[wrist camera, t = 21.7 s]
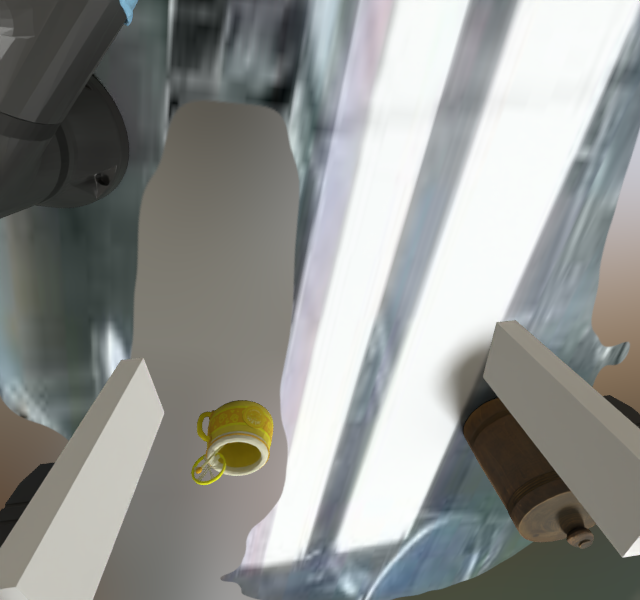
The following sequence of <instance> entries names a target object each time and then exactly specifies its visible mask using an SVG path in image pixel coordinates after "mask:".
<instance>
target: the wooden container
mask: <svg viewBox="0 0 640 600" xmlns="http://www.w3.org/2000/svg"><path fill="white" fill-rule="evenodd" d="M464 436H465V439H466V440H467V442H468V444H469V446H470V448H471V449H472V451H473V453H474V455H475V457H476V459H477V460H478V462H479V464H480V466H481V467H482V469H483V471H484V472H485V474H486V476H487V477H488V479H489V480H490V482H491V484H492V485H493V487H494V489H495V490H496V492H497V494H498V495H499V497H500V499H501V500H502V502H503V504H504V505H505V507H506V509H507V510H508V513H509V515H510V517H511V519H512V521H513V523H514V524H515V526H516V528H517V530H518V531H519V533H520V534H521V535H522V536H523V537H524V538H525V539H527V540H530V541H534V542H550V541H556V540H561V539H564V538H567V541H568V542H569V543H570V544H571V545H573V546H575V547H580V548H582V549H584V548H586V547H588V546H590V545H591V544H592V541H593V539H594V537H593V534H592V533H591V531H590V530H589V529H588V528H590V527H592V526H594V525H595V524H596V523H595V521H594V520H593V519H592V518H591V516H590V515H589V514H588V512H587V511H586V510H585V508H584V507H583V506H582V505H581V503H580V502H579V501H578V499H577V498H576V497H575V496H574V494H573V493H572V492H571V490H570V489H569V488H568V487H567V485H566V484H565V483H564V481H563V480H562V479H561V477H560V476H559V475H558V474H557V472H556V471H555V470H554V468H553V467H552V466H551V465H550V463H549V462H548V461H547V459H546V458H545V457H544V455H543V454H542V453H541V452H540V450H539V449H538V448H537V446H536V445H535V444H534V443H533V441H532V440H531V439H530V437H529V436H528V435H527V434H526V432H525V431H524V430H523V428H522V427H521V426H520V424H519V423H518V422H517V421H516V419H515V418H514V417H513V415H512V414H511V413H510V412H509V410H508V409H507V408H506V406H505V405H504V404H503V402H502V401H501V400H500V399H499V398H496V399H493V400H491V401H489V402H487V403H485V404H483V405H482V406H480V407H479V408H477V409H476V410H475V411H474V412H473V413H472V414H471V415H470V416H469V418H468V419H467V421H466V423H465V425H464Z"/></svg>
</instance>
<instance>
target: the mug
mask: <svg viewBox="0 0 640 600" xmlns="http://www.w3.org/2000/svg"><path fill="white" fill-rule="evenodd" d="M205 417H209V420H210V421H209V426H208V435H207V436H206V435H205V433H204V432H203V430H202V422H203V419H204V418H205ZM197 432H198V435H199V436H200V437H201V438H202V439H203V440H204V441H206V442H207V450H206V454H205V455H203V456H202V457H200V458H199V459H198V460H197V461H196V462H195V464H194V466H193V468H192V472H191V474H192V478H193V480H194V481H195V482H196V483H197V484H200V485H207V484H211V483H212V482H214V481H216V480H217V479H219V478H220V477H221V476H222V474H226V475H233V476H239V475H247V474H250V473H253V472H255V471H257V470H258V469H260V468H262V467H263V466H264V465H265V464H266V462H267V461H268V459H269V456H270V452H269V449H270V446H271V441H272V435H273V420H272V417H271V415H270V413H269V412H268V411H267V409H265V408H264V407H263V406H262V405H260V404H258V403H255V402H251V401H246V400H245V401H243V400H238V401H232V402H229V403H227V404H224V405H223V406H221V407H220V408H218V409H217V410H215V411H214V410H213V411H212V412H204V413H202V414H201V415H200V417H199V419H198V422H197ZM203 459H204V460H205V461H206V462H205V463H204V464H203V465H202V466H201V467H196V466H197V465H198V463H199V462H200V461H201V460H203ZM208 462H209V464H210V466H211V467H213V469H215V470H216V471H219V472H220V473H219V474H218V475H217V476H216V477H214V476H213V474H212V472H211V470H210V469H211V468H209V467H210V466H209V465H208ZM206 464H207V465H208V467H207V468H208V470H209V471H210V475H211V480H209V481H204V482H203V481H201V480H202V478H203V477H204V476H205V474H206V473H205V471H206V470H207V469H206V470H205V471H204V472H203V473H202V474H201V476H200V477H199V478H198V479H195V477H194V472H195V471H196V473H197V474H198V473H201V471H202V470H204V469H202V468H206V467H204V466H205V465H206ZM204 473H205V474H204ZM203 474H204V475H203Z"/></svg>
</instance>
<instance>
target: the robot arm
mask: <svg viewBox="0 0 640 600" xmlns="http://www.w3.org/2000/svg"><path fill="white" fill-rule="evenodd" d="M137 2H138V0H0V218H3V217H6V216H8V215H11V214H13V213H16V212H18V211H21V210H24V209H26V208H29V207H31V206H34V205H36V206H45V207H54V208H74V207H80V206H84V205H88V204H90V203H93V202H95V201H97V200H99V199H101V198H103V197H105V196H107V195H108V194H110V193H111V192H112V191H113V190H114V189H115V188H116V187H117V186H118V185H119V183H120V182H121V180H122V178H123V176H124V174H125V172H126V169H127V165H128V159H129V142H128V136H127V131H126V128H125V125H124V122H123V119H122V117H121V114H120V112H119V110H118V108H117V106H116V104H115V103H114V101H113V100H112V98H111V97H110V95H109V94H108V92H107V91H106V90H105V88H104V87H103V86H102V85H101V84H100V83H99V81H98V80H97V79H96V78H95V77H94V76H93V75H92V74H93V72H94V71H95V69H96V68H97V66H98V64H99V63H100V61H101V60H102V58H103V56H104V55H105V53H106V52H107V50H108V48H109V47H110V45H111V44H112V42H113V40H114V39H115V37H116V36H117V34H118V33H119V31H120V29H121V28H122V26H123V25H124V24H125V25H127V26H128V25H130V23H131V22H132V18H133V9H134V7H135V5H136V4H137ZM483 378H484V379H485V381H486V382H487V383H488V384H489V386H490V387H491V388H492V390H493V391H494V392H495V393H496V395H497V396H498V397H499V399H500V400H501V401H502V402H503V404H504V405H505V406H506V408H507V409H508V410H509V412H510V413H511V414H512V415H513V417H514V418H515V419H516V421H517V422H518V423H519V424H520V426H521V427H522V428H523V430H524V431H525V432H526V434H527V435H528V436H529V437H530V439H531V440H532V441H533V443H534V444H535V445H536V446H537V448H538V449H539V450H540V452H541V453H542V454H543V455H544V457H545V458H546V459H547V461H548V462H549V463H550V465H551V466H552V467H553V468H554V470H555V471H556V472H557V474H558V475H559V476H560V477H561V479H562V480H563V481H564V483H565V484H566V485H567V487H568V488H569V489H570V490H571V492H572V493H573V494H574V496H575V497H576V498H577V499H578V501H579V502H580V503H581V505H582V506H583V507H584V508H585V510H586V511H587V512H588V514H589V515H590V516H591V518H592V519H593V520H594V521H595V523H596V524H597V525H598V526H599V528H600V529H601V530H602V532H603V533H604V534H605V536H606V537H607V538H608V539H609V541H610V542H611V543H612V545H613V546H614V547H615V549H616V550H617V551H618V552H619V554H620V555H621V556H622V557H628V556H635V555H640V414H639V413H638V412H637V411H635V410H634V409H633V408H632V407H630V406H628V405H627V404H625V403H623V402H621V401H619V400H617V399H616V398H614V397H612V396H610V395H608V396H602V395H600V394H599V393H598V392H597V391H596V390H595V389H594V388H592V387H591V386H590V385H589V384H588V383H587V382H586V381H584V380H583V379H582V378H581V377H580V376H579V375H578V374H576V373H575V372H574V371H573V370H572V369H571V368H570V367H568V366H567V365H566V364H565V363H564V362H563V361H561V360H560V359H559V358H558V357H557V356H556V355H555V354H553V353H552V352H551V351H550V350H549V349H548V348H547V347H545V346H544V345H543V344H542V343H541V342H540V341H539V340H537V339H536V338H535V337H534V336H533V335H532V334H531V333H529V332H528V331H527V330H526V329H525V328H524V327H523V326H521V325H520V324H519V323H518V322H517V321H516V320H515V321H505V322H497V323H496V327H495V331H494V334H493V338H492V342H491V346H490V350H489V354H488V358H487V362H486V366H485V370H484V374H483ZM163 415H164V410H163V408H162V405H161V403H160V400H159V397H158V395H157V392H156V390H155V387H154V384H153V382H152V379H151V376H150V374H149V371H148V369H147V366H146V364H145V361H144V359H143V358H138V359H128V360H121V361H120V363H119V364H118V366H117V367H116V369H115V370H114V372H113V373H112V375H111V377H110V378H109V380H108V381H107V383H106V384H105V386H104V387H103V389H102V391H101V392H100V394H99V395H98V397H97V398H96V400H95V401H94V403H93V405H92V406H91V408H90V409H89V411H88V412H87V414H86V415H85V417H84V419H83V420H82V422H81V423H80V425H79V426H78V428H77V429H76V431H75V433H74V434H73V436H72V437H71V439H70V440H69V442H68V443H67V445H66V447H65V448H64V450H63V451H62V453H61V455H60V456H59V458H58V459H57V461H56V462H55V463H48V464H40V465H39V466H38V467H37V468H36V469H35V470H34V471H33V472H32V473H31V474H29V475H28V476H27V477H26V478H25V479H24V480H23V481H22V482H21V483H20V484H19V485H18V487H17V488H16V490H15V491H14V493H13V494H12V495H11V497H10V498H9V500H8V501H7V502H6V504H5V508H4V509H2V510H1V511H0V600H93V598H94V595H95V592H96V590H97V587H98V585H99V582H100V579H101V576H102V574H103V572H104V569H105V566H106V564H107V561H108V558H109V556H110V553H111V551H112V548H113V545H114V543H115V540H116V537H117V535H118V532H119V530H120V527H121V525H122V522H123V519H124V517H125V514H126V512H127V509H128V506H129V504H130V501H131V499H132V496H133V493H134V491H135V488H136V486H137V483H138V480H139V478H140V475H141V473H142V470H143V467H144V465H145V462H146V459H147V457H148V454H149V452H150V449H151V446H152V444H153V441H154V438H155V436H156V434H157V431H158V428H159V426H160V423H161V421H162V418H163Z"/></svg>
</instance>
